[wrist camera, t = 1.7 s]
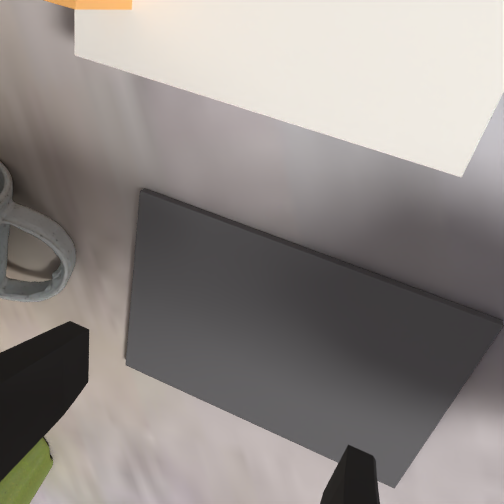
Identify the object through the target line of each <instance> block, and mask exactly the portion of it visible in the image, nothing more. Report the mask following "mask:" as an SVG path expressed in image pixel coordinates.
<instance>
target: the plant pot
mask: <svg viewBox="0 0 504 504" xmlns="http://www.w3.org/2000/svg"><path fill="white" fill-rule="evenodd" d="M52 465H53V460H52V459H50V450H49V447H48V445H47V443H46V441H45V439H44V438H42V439H41V440H40V441H39V442H38V443H37V444H36V445H35V446H34V447H33V448H32V449H31V450H30V451H29V452H28V453H27V454H26V455H25V457H24V458H23V459H22V460H21V461H20V462H19V463H18V464H17V465H16V466H15V467H14V468H13V469H12V470H11V471H10V472H9V473H8V474H7V476H6V477H5V478H4V479H3V480H2V481H1V482H0V504H30V502H31V500H32V499H33V497H34V495H35V494H36V492H37V491H38V489H39V487H40V486H41V484H42V482H43V481H44V479H45V477H46V476H47V474H48V472H49V471H50V469H51V467H52Z"/></svg>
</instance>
